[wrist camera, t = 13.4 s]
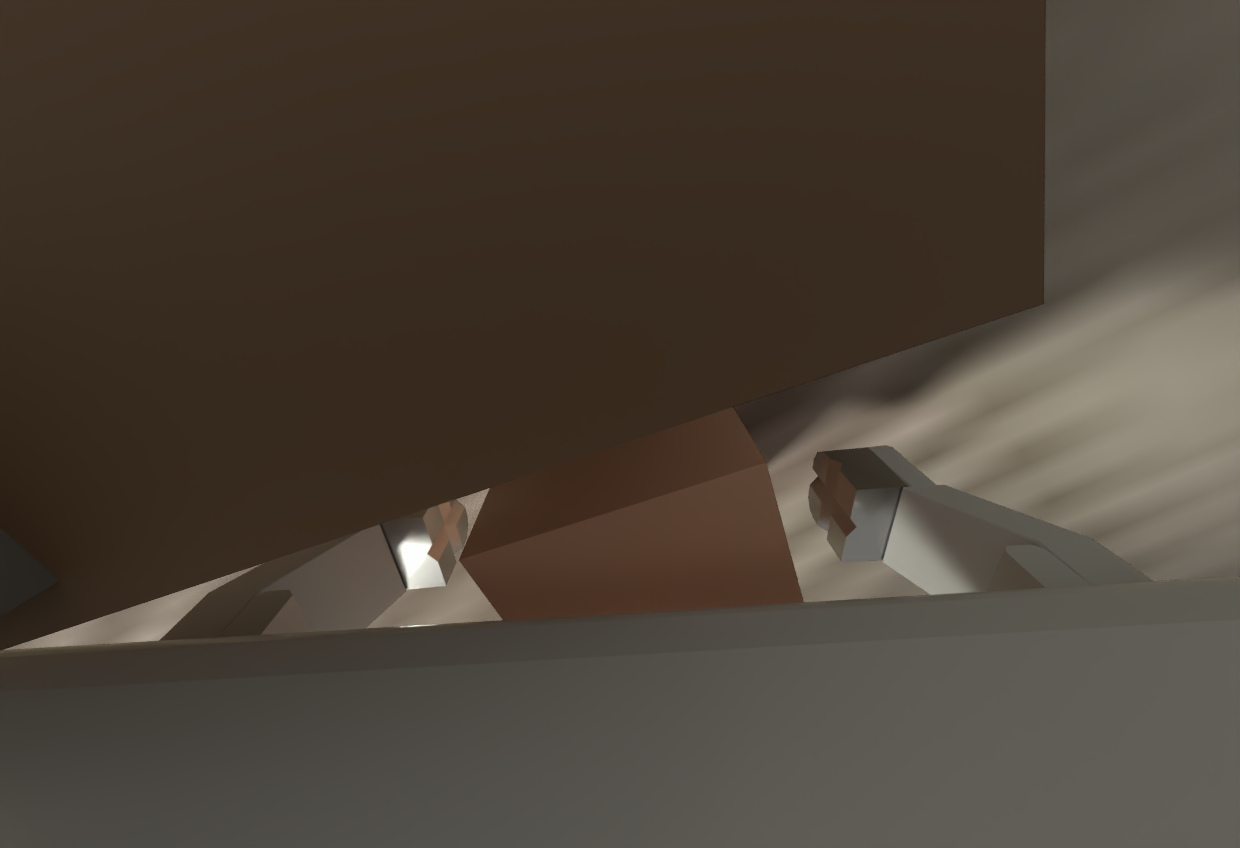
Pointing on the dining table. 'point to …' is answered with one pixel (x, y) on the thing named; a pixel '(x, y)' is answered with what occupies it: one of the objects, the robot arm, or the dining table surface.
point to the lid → (458, 249)
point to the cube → (637, 529)
